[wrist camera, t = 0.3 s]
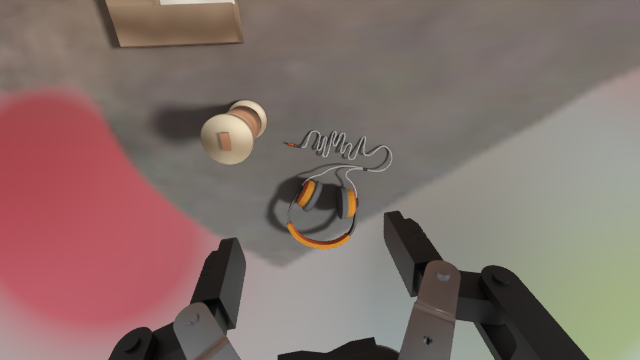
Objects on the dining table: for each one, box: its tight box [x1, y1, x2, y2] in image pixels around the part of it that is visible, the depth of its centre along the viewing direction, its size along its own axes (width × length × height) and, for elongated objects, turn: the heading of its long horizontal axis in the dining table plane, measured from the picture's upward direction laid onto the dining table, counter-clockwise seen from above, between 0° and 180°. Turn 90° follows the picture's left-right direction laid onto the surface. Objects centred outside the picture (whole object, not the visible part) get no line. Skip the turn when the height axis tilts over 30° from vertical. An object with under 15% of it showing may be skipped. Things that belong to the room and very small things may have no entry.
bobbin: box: [201, 100, 267, 164], centre depth 33 cm, size 6×6×12 cm
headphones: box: [287, 130, 392, 249], centre depth 41 cm, size 17×5×20 cm
